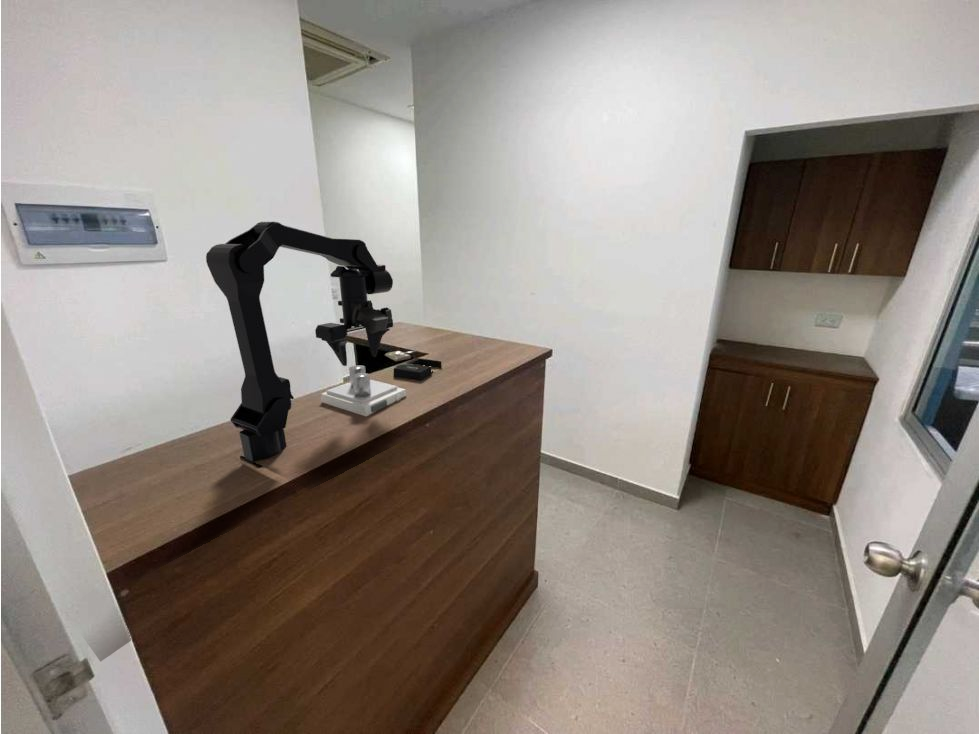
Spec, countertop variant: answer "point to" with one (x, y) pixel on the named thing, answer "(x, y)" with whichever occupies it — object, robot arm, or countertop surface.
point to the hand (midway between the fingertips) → (360, 360)
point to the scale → (365, 405)
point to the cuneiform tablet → (399, 355)
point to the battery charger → (416, 369)
